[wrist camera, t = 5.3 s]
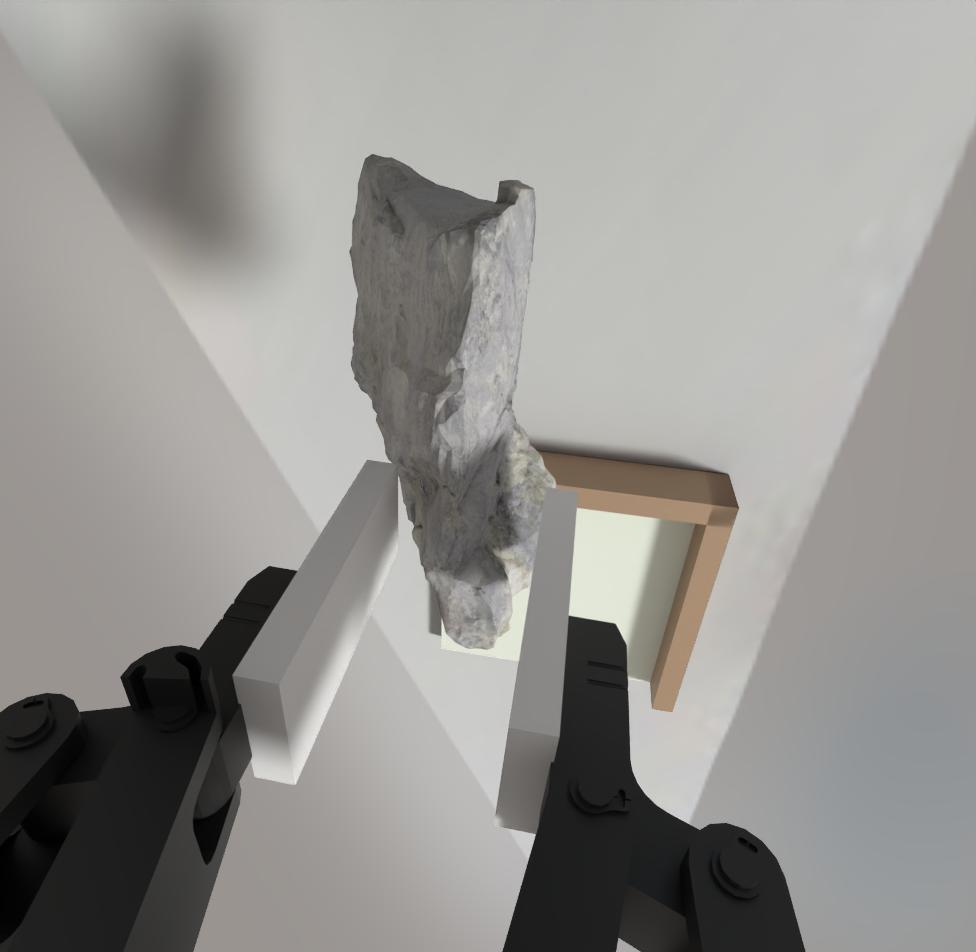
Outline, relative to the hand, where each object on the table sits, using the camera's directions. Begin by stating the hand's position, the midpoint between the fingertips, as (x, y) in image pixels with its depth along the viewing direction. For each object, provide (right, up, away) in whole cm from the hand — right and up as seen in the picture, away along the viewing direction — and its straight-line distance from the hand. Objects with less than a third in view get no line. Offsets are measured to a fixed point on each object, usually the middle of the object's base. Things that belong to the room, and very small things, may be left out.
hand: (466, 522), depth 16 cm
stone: (+4, +1, +3) cm, 5 cm away
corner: (+5, -5, +22) cm, 23 cm away
